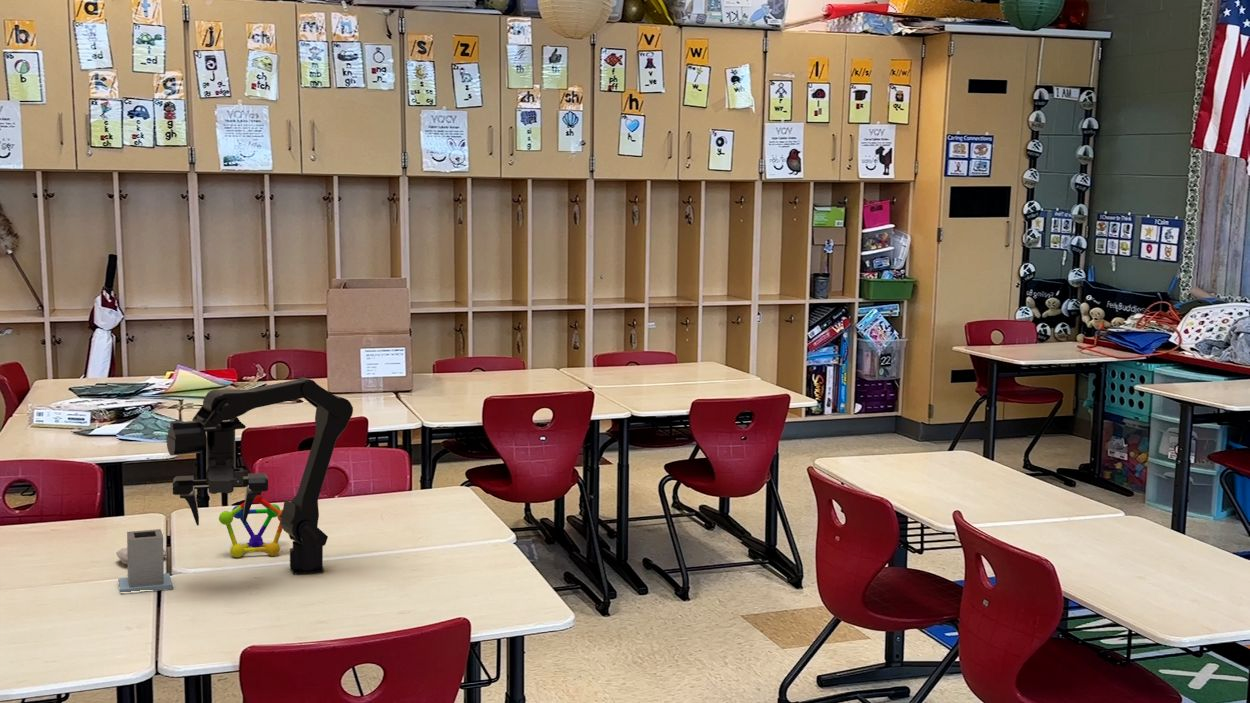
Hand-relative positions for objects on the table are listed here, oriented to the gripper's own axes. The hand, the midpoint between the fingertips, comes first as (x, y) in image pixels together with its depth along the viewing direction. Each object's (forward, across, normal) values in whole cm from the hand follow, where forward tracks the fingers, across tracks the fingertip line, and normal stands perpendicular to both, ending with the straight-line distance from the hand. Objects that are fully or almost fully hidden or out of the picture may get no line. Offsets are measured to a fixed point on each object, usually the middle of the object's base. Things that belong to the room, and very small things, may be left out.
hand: (221, 523), depth 245 cm
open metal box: (+12, -15, +2) cm, 19 cm away
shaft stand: (+13, -15, +2) cm, 20 cm away
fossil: (+13, -17, +19) cm, 29 cm away
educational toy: (+13, +7, +23) cm, 27 cm away
